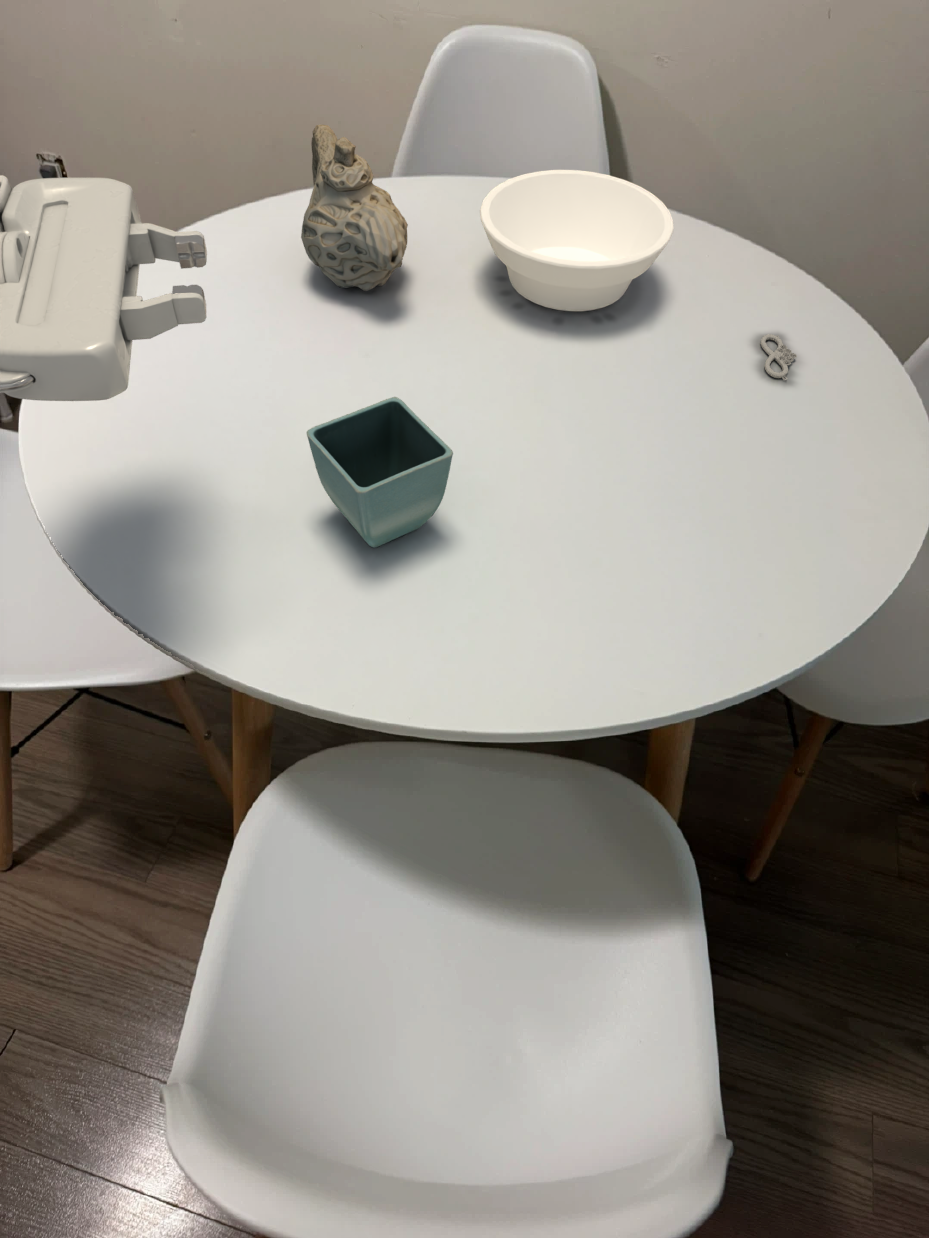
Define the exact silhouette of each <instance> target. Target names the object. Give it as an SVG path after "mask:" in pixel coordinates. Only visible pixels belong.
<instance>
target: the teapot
mask: <svg viewBox="0 0 929 1238" xmlns="http://www.w3.org/2000/svg"><path fill="white" fill-rule="evenodd" d="M310 142H311V143H310V145H311V154H312V156H311V157H312V158H311V159H312V160H311V162H312V163H311V172H312V173H311V174H312V183H313V188H312V192H311V195H310V197H309V202H308V205H307V207H306V209H305V212H304V215H303V220H302V224H301V235H300V238H301V242H302V244H303V248H304V251H305V254H306V255H307V257H308V259H309V260H310V261H311V262H312V263H313V264H314V266H318V267H319V269H320V271H321V272H322V274H323V275H325V276H326V277H327V278H328V279H329V280H330V281H332V282H333V283H334V284H335V286H337V287H338V288H340V289H343V288H352V287H357V288H359V289H361V290H362V291H364V292H367V291H371V290H372V289H374V288H376V287H377V286H379V287H383V286H385V285H386V284H387V281H388V280H389V279H390V277H391V276H392V274H393V272H394V271H395V270H397V269H399V268H400V267H402V264H403V260H404V259H403V258H404V256H405V253H406V250H407V248H408V247H407V246H408V226H409V224H408V222H407V220H406V219H405V217H404V216H403V215H402V213H401V211H400V210H399V208H397V206H396V205H395V203H394V202H393V199H392V195H391V194H390V193H389V192H388V191H387V190H385V189H383V188H381V187H380V186H377V185H375V184H374V183H373V180H374V177H375V176H374V174H373V170H372V168H371V166H370V164H369V163H368V161H367V160H366V159H365V158H363V157H362V156H361V155H358V154H357V153H355V151H356V147H357V146H356V145H355V144H354V143H353V142H351V140H349V139H348V138H347V137H346V136H342V137H340V138H339V139H338V137H337V135H336V133H335V132H334V130H333V128H331V127H330V125H328V124H316V125H315V126H314V128H313V130H312V136H311V141H310Z"/></svg>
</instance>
